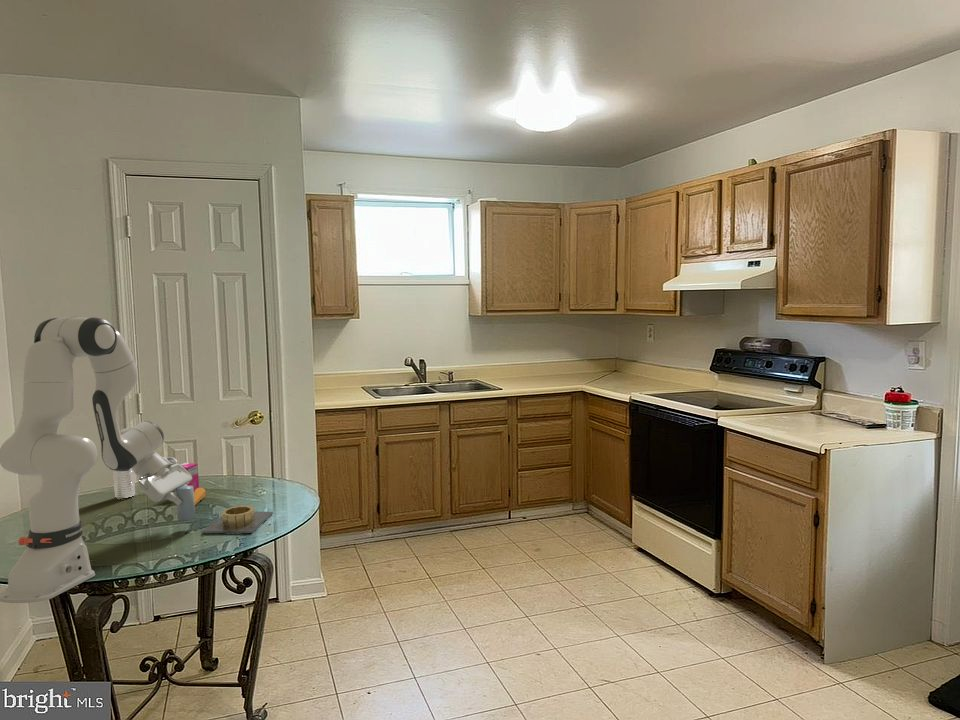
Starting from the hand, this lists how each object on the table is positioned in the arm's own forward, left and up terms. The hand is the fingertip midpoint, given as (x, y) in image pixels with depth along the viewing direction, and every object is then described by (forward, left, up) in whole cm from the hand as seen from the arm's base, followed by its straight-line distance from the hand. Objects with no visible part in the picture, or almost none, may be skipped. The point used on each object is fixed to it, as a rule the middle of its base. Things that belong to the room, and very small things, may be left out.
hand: (186, 500), depth 210 cm
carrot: (+24, +11, -10) cm, 28 cm away
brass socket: (+4, -15, -9) cm, 18 cm away
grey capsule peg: (0, 0, -6) cm, 6 cm away
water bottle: (+34, +42, -10) cm, 55 cm away
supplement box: (+37, +19, -10) cm, 43 cm away
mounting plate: (+4, -15, -9) cm, 18 cm away
